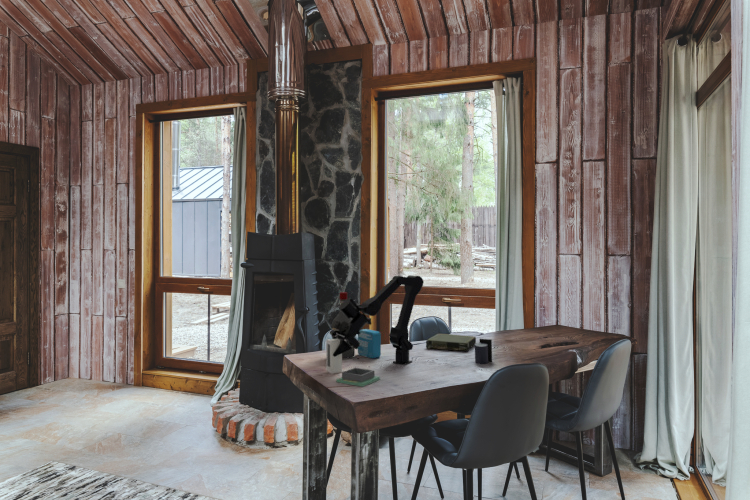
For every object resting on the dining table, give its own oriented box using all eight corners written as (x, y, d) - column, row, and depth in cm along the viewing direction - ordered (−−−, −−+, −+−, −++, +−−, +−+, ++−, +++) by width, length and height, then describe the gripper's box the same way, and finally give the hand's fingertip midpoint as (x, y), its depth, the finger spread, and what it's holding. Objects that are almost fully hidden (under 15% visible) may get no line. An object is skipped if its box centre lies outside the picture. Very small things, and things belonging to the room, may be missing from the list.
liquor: (348, 353, 235) (348, 291, 235) (356, 357, 227) (356, 293, 227) (330, 355, 232) (330, 292, 232) (337, 359, 223) (337, 293, 223)
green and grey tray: (354, 375, 196) (354, 366, 196) (379, 379, 189) (379, 370, 189) (336, 382, 186) (336, 372, 186) (362, 386, 179) (362, 377, 179)
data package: (357, 354, 234) (357, 329, 234) (364, 353, 237) (364, 328, 237) (373, 359, 225) (373, 332, 225) (380, 357, 227) (381, 331, 227)
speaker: (481, 359, 223) (481, 337, 222) (492, 361, 219) (492, 339, 218) (472, 363, 217) (471, 340, 216) (483, 366, 213) (483, 343, 212)
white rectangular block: (337, 369, 204) (337, 338, 204) (341, 372, 200) (341, 340, 200) (326, 371, 202) (326, 339, 202) (330, 373, 198) (330, 341, 198)
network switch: (424, 350, 245) (424, 340, 245) (433, 342, 268) (433, 332, 268) (471, 353, 238) (471, 343, 238) (476, 344, 261) (476, 335, 261)
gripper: (333, 310, 211) (309, 338, 206) (352, 315, 195) (327, 346, 190) (350, 327, 215) (326, 355, 210) (370, 333, 199) (345, 364, 193)
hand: (331, 354), depth 200 cm, fingers closed on white rectangular block, 5 cm apart
